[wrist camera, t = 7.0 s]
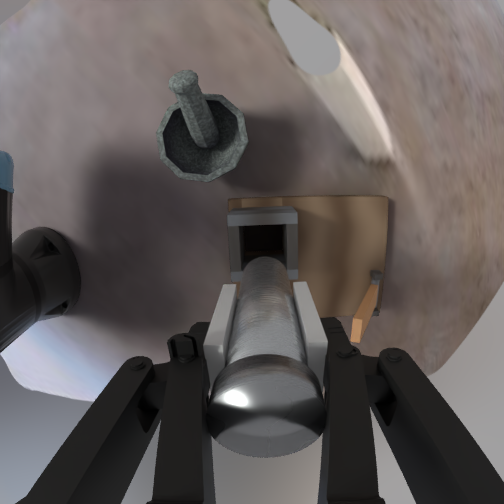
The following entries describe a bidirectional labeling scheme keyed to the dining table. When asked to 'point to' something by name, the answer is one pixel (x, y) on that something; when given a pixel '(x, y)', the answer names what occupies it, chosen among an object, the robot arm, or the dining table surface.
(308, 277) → the hitch board
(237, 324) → the pin
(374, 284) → the strip
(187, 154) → the mortar and pestle
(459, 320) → the dining table surface
